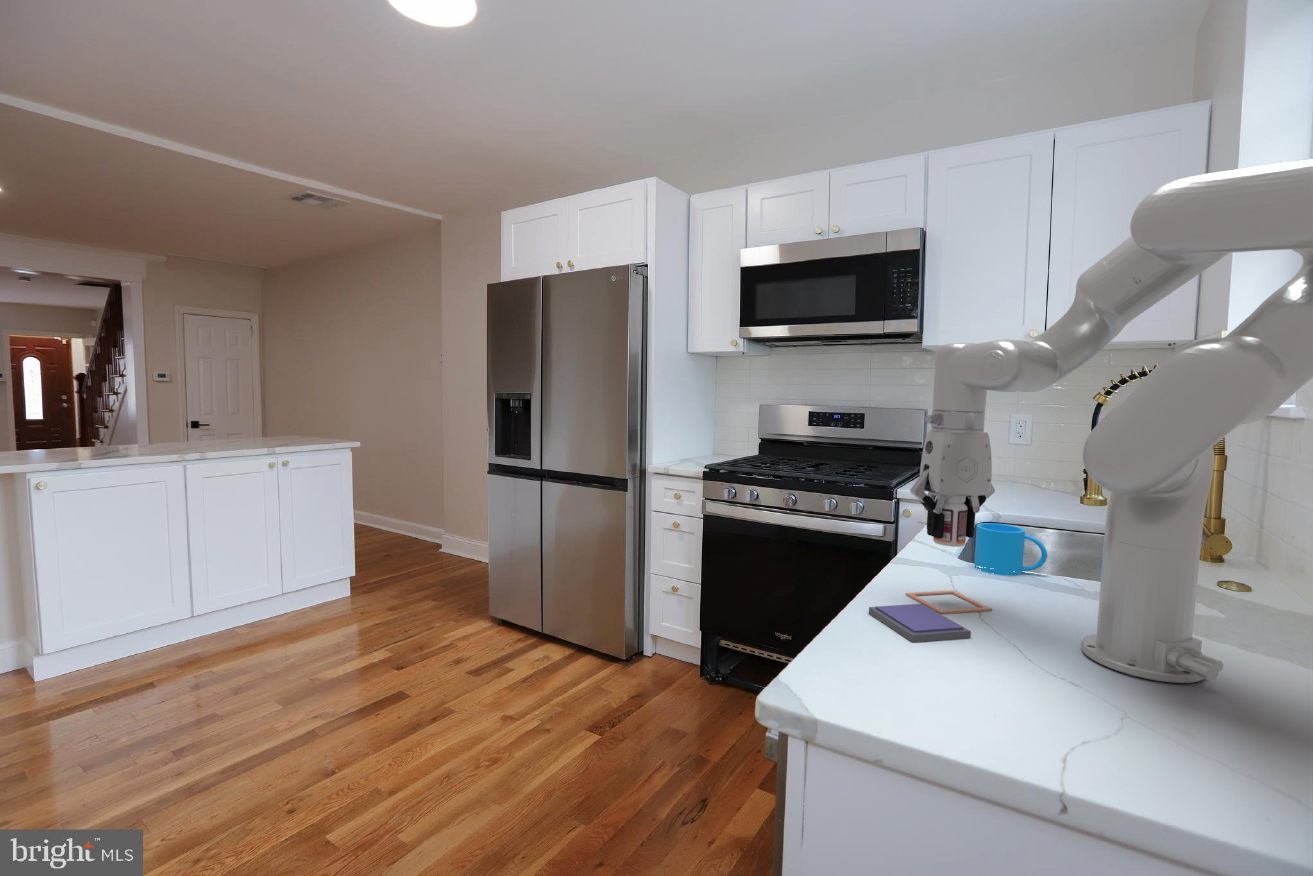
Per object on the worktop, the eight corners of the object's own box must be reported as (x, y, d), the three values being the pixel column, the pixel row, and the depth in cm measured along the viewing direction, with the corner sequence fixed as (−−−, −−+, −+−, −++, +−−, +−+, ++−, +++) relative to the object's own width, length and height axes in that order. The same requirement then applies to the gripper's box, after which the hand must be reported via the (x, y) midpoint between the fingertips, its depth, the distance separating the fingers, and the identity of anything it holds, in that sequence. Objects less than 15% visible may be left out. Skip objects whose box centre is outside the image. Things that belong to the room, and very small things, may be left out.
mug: (971, 570, 120) (974, 528, 119) (976, 561, 127) (979, 521, 126) (1045, 582, 114) (1048, 537, 113) (1046, 571, 120) (1049, 529, 120)
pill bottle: (958, 540, 103) (961, 489, 102) (970, 548, 98) (973, 494, 98) (928, 539, 104) (931, 488, 103) (938, 546, 99) (941, 493, 98)
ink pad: (970, 638, 87) (971, 628, 87) (912, 642, 85) (913, 633, 85) (921, 610, 98) (921, 602, 98) (868, 613, 96) (869, 605, 96)
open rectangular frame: (991, 610, 98) (991, 608, 98) (940, 614, 96) (940, 612, 96) (953, 592, 107) (953, 590, 107) (905, 594, 105) (905, 593, 105)
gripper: (924, 423, 94) (917, 543, 95) (1022, 424, 97) (1013, 540, 99) (895, 420, 101) (888, 532, 103) (986, 421, 105) (979, 529, 106)
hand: (950, 535), depth 101 cm, fingers closed on pill bottle, 4 cm apart
